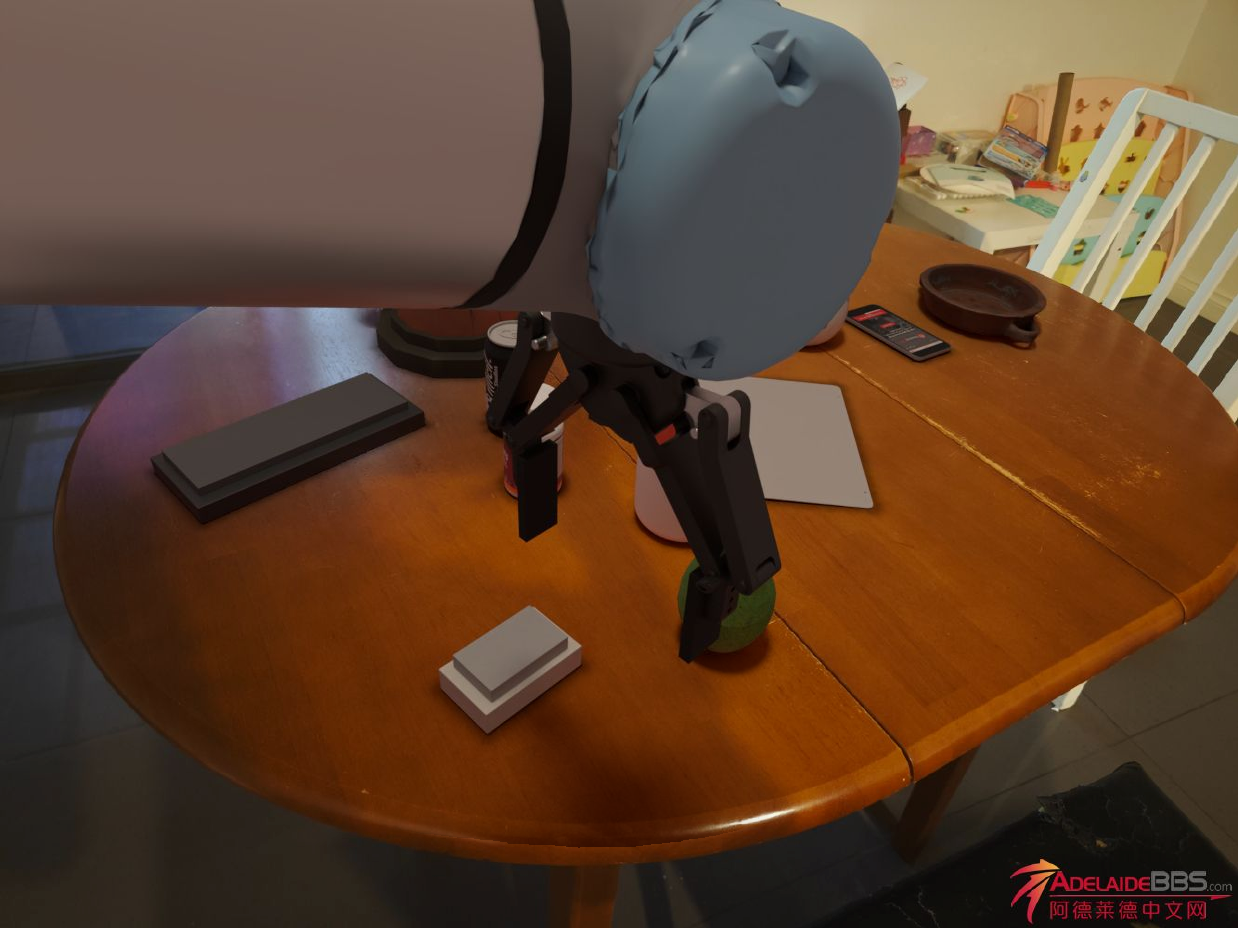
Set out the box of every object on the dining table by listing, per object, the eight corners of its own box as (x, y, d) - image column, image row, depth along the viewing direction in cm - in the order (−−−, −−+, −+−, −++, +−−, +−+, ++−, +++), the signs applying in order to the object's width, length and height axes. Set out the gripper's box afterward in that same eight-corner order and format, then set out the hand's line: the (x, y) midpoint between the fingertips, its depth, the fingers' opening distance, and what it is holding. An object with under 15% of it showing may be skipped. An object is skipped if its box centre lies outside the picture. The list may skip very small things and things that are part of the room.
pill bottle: (507, 466, 93) (505, 376, 86) (564, 469, 93) (566, 380, 86) (500, 502, 88) (497, 410, 81) (560, 504, 88) (562, 413, 82)
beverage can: (528, 446, 96) (528, 352, 89) (477, 431, 98) (472, 338, 91) (553, 416, 101) (554, 326, 94) (503, 403, 103) (501, 313, 96)
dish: (957, 278, 141) (966, 249, 138) (1072, 337, 126) (1085, 306, 123) (880, 296, 133) (888, 266, 130) (991, 362, 118) (1003, 330, 115)
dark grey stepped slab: (202, 524, 83) (195, 500, 81) (154, 472, 89) (146, 449, 87) (425, 425, 98) (423, 403, 96) (372, 387, 104) (369, 365, 102)
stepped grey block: (487, 734, 66) (485, 703, 63) (440, 688, 69) (437, 657, 67) (581, 664, 72) (582, 634, 69) (533, 625, 75) (534, 594, 73)
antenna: (659, 372, 111) (659, 364, 110) (838, 390, 111) (840, 382, 110) (654, 491, 91) (655, 482, 90) (873, 513, 91) (875, 504, 90)
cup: (701, 563, 83) (712, 484, 76) (614, 521, 87) (618, 444, 80) (747, 506, 89) (761, 430, 83) (664, 470, 93) (672, 395, 87)
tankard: (519, 389, 106) (516, 193, 91) (327, 363, 108) (294, 168, 93) (557, 311, 123) (560, 135, 108) (391, 290, 125) (371, 115, 111)
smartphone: (874, 303, 129) (954, 346, 120) (873, 307, 130) (952, 350, 120) (840, 313, 126) (919, 358, 116) (839, 317, 126) (917, 362, 117)
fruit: (717, 591, 80) (735, 491, 72) (782, 642, 75) (809, 541, 68) (654, 631, 75) (667, 529, 68) (720, 688, 71) (741, 585, 63)
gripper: (918, 330, 35) (819, 668, 48) (516, 168, 48) (524, 467, 61) (815, 397, 30) (737, 750, 43) (404, 199, 44) (438, 514, 56)
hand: (612, 585), depth 52 cm, fingers open, 13 cm apart
